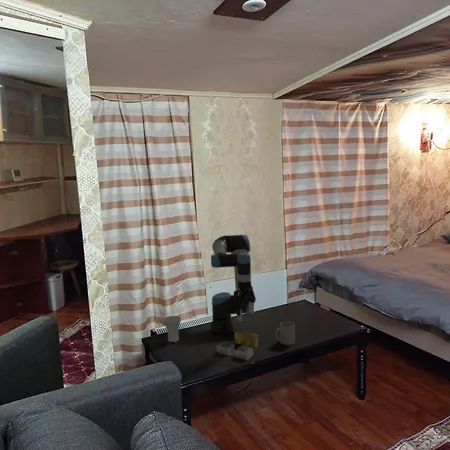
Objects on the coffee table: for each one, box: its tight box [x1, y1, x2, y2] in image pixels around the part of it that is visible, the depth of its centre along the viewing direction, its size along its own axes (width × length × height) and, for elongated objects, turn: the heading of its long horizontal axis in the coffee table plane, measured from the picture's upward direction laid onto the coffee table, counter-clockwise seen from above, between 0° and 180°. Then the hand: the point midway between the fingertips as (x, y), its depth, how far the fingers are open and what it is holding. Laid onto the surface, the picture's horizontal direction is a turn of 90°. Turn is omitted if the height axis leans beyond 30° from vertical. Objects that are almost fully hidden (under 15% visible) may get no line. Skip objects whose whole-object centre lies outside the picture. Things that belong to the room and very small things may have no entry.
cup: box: [162, 315, 182, 343], centre depth 245 cm, size 10×10×14 cm
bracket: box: [216, 340, 254, 361], centre depth 226 cm, size 19×7×4 cm, turn 56°
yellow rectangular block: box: [234, 329, 259, 349], centre depth 236 cm, size 14×3×7 cm, turn 56°
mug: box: [274, 320, 296, 346], centre depth 237 cm, size 12×8×11 cm
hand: (245, 317), depth 235 cm, fingers open, 13 cm apart
